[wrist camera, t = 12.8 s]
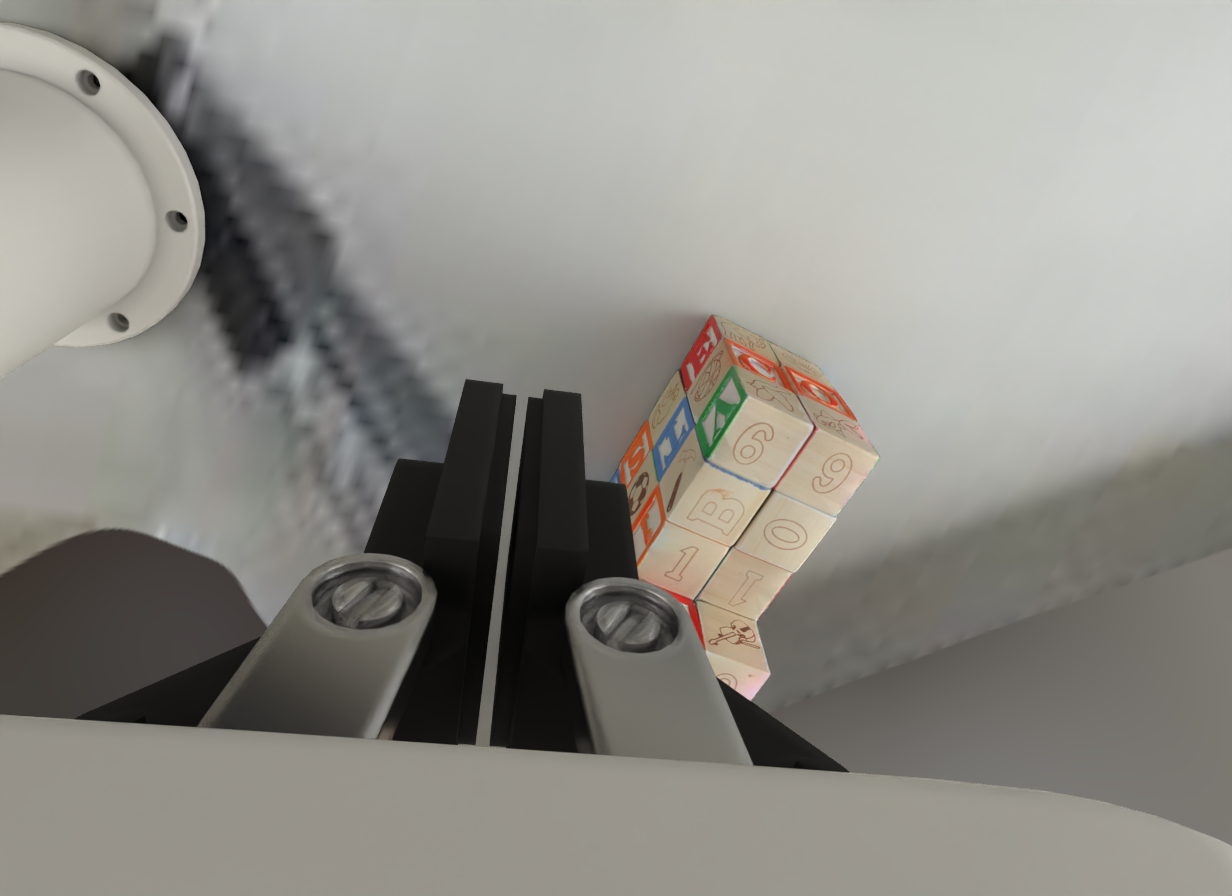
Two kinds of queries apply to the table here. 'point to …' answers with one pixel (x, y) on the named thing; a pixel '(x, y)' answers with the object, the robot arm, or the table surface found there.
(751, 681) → the stack of blocks
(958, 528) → the table surface
